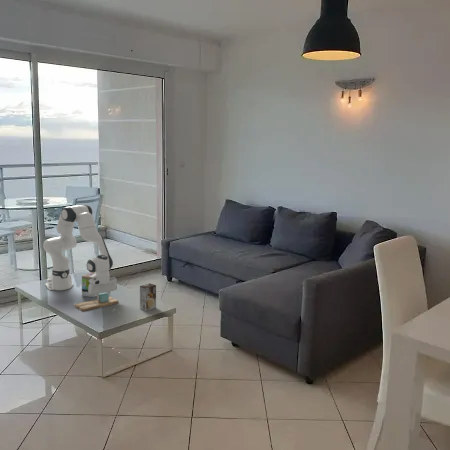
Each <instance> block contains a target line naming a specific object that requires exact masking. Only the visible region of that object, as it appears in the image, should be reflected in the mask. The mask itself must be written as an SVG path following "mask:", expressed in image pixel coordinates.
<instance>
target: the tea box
mask: <svg viewBox="0 0 450 450" xmlns="http://www.w3.org/2000/svg"><path fill="white" fill-rule="evenodd" d="M94 277H96V273H95V272H94V273H92V272H89V271H88V273H85V274H83V275H82V276H81V296H82V297H90V298H95V297H97V296H96V295H90V294H89V293H88V286H89V284H90V283H89V280H90V279H92V278H94Z"/></svg>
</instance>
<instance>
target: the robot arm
mask: <svg viewBox="0 0 450 450" xmlns="http://www.w3.org/2000/svg"><path fill="white" fill-rule="evenodd" d="M76 222H77V224H78V230H79V235H80V236H81V239H82V240H84V241H85V242H90V243H93V244H95V245H96V246H97V248H98V250H99V253H100V254H99V255H97V256H96V257H93V258H90V259H88V260H87V262H86V270H87V271H88V273H89V272H92V273H94V272H95V273H96V277H94V278H92V279H90V280H89V283H90V284H89V286H88V293H89V294H90V295H96V296H95V297H96V299H97V300H100V297H99V296H98V295H99V294H100V293H107V294H109V296H110V294H111V292H114V291H117V289H118V283H117V281H118V279H117V277H116V276H113V277H110V276H111V275H110V270H111V269H112V267H113V265H114V262H113V258H112V257H111V255H110V253H109V250H108V247H107V244H106V242H105V240H104V237H103V236H102V234H100V232H98V229H97V226H96V222H95V220H94V217H93V209H92V207H91V206H90V205H87V204H76V205H70V206H65V207H63V208H62V210H61V212H60V215H59V218H58V221H57V225H56V231H57V233H59V236H56V237H50V238H48V239H45V240H44V241H43V244H42V245H43V246H42V247H43V250H44V251H45V252H46V253H47V254H49V256H50V257H51V260H52V261H51V262H52V269H51V274H50V276H49V277H48V279H47V280H46V281H47V282H46V283H45V287H46V288H47V289H48V291H66V290H69V289H71V288H72V287H73V286H74V283H73V281H72V274H70V272H71V271H70V267H69V266H70V265H69V264H70V263H69V262H70V261H69V258H68V257H67V256H65V255H63V252H65V251H70V250H73V249H74V248H76V247H77V245H78V243H77V239H76V236H74V235H73V230H74V226H75V223H76Z"/></svg>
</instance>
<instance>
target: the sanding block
mask: <svg viewBox="0 0 450 450" xmlns="http://www.w3.org/2000/svg"><path fill="white" fill-rule="evenodd" d="M107 293H108V292H105V293H100V294H99V295H98V296H99V297H100V300H98V301H99V302H101V303H104V302H108V301H109V296H110V295H109V294H107Z"/></svg>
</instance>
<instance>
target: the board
mask: <svg viewBox="0 0 450 450" xmlns="http://www.w3.org/2000/svg"><path fill="white" fill-rule="evenodd" d="M119 301H120V300H118V299H116V298H113V297H112V296H110V295H109V301H108V302H104V303H101V302H99V301H98V300H97V298H96V299H94V300H93V299H92V300H87V301H84V302H79V303H75V304H74V308H76V309H78V310H80V311H81V312H86V311H90V310H94V309H100V308H104V307H108V306H112V305H118V304H119V303H120V302H119Z"/></svg>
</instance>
